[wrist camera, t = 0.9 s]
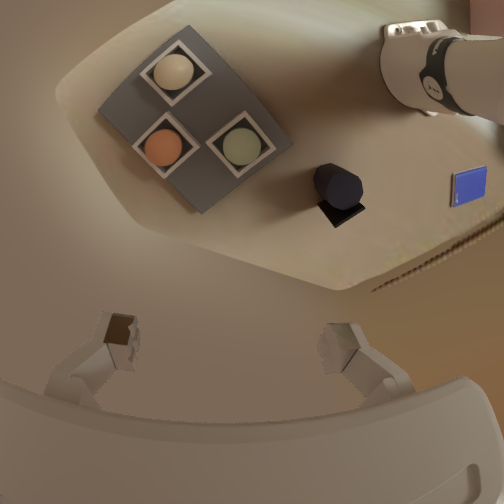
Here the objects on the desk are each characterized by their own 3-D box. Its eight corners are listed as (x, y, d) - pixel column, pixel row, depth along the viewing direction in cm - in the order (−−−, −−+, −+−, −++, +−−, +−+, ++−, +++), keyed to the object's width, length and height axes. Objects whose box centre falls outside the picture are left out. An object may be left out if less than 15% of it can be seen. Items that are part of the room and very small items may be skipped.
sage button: (244, 120, 34) (245, 121, 32) (266, 147, 36) (268, 150, 35) (215, 142, 35) (215, 145, 34) (238, 168, 38) (239, 172, 36)
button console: (190, 27, 28) (187, 21, 24) (290, 141, 40) (296, 146, 36) (103, 108, 33) (92, 111, 29) (202, 209, 45) (200, 220, 41)
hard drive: (454, 208, 48) (484, 196, 47) (456, 175, 43) (487, 166, 42) (449, 205, 49) (480, 194, 48) (451, 172, 45) (482, 164, 44)
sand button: (178, 49, 27) (175, 47, 25) (201, 73, 30) (200, 72, 28) (150, 73, 28) (146, 72, 27) (173, 97, 31) (170, 97, 29)
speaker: (347, 199, 46) (371, 222, 37) (317, 206, 46) (334, 231, 37) (341, 157, 42) (366, 171, 33) (309, 164, 43) (326, 180, 34)
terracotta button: (166, 121, 33) (163, 123, 31) (190, 146, 35) (188, 149, 34) (141, 145, 34) (137, 148, 32) (164, 169, 37) (162, 173, 35)
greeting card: (472, 38, 26) (524, 43, 14) (454, 9, 23) (507, 7, 10) (488, 22, 22) (535, 26, 9) (472, -5, 19) (519, -6, 6)
